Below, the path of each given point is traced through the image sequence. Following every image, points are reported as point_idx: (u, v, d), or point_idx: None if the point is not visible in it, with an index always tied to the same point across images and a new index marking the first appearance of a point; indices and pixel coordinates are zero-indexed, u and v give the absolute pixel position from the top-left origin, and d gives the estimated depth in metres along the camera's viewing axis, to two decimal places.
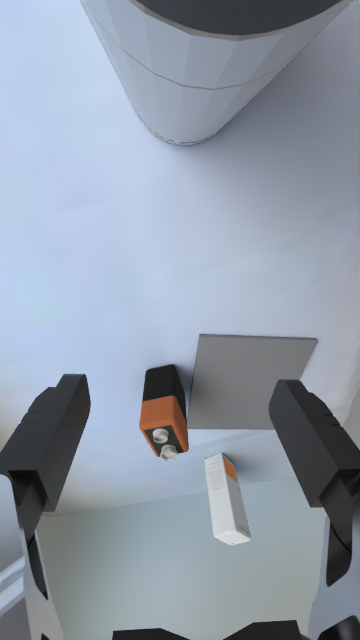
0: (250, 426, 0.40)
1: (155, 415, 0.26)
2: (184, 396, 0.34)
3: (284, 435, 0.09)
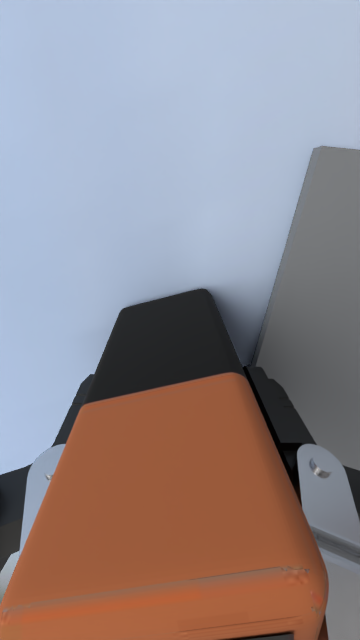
0: None
1: (138, 508, 0.03)
2: None
3: None
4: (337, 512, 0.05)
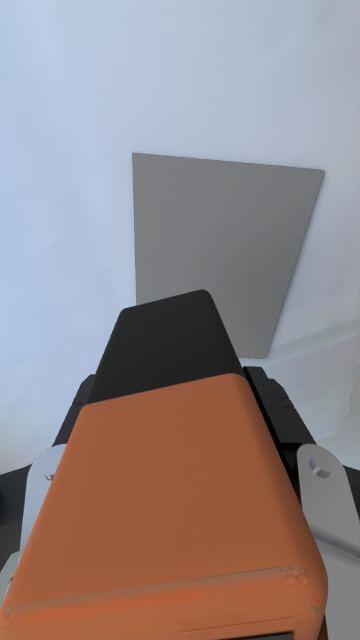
0: None
1: (138, 508, 0.03)
2: None
3: None
4: (337, 512, 0.05)
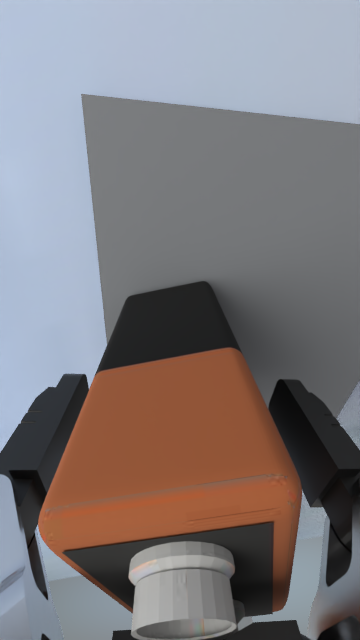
0: None
1: (152, 442, 0.04)
2: None
3: (284, 435, 0.09)
4: None
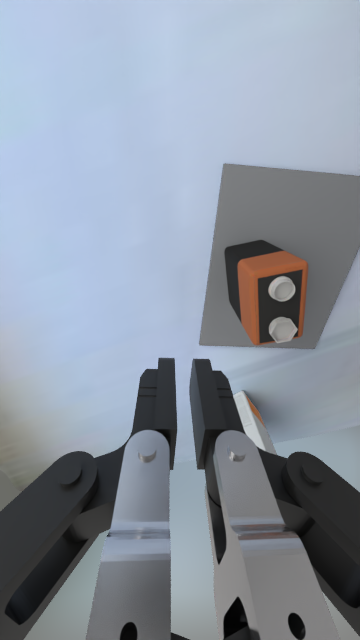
0: (283, 342, 0.30)
1: (271, 262, 0.17)
2: None
3: (192, 409, 0.10)
4: (255, 493, 0.05)
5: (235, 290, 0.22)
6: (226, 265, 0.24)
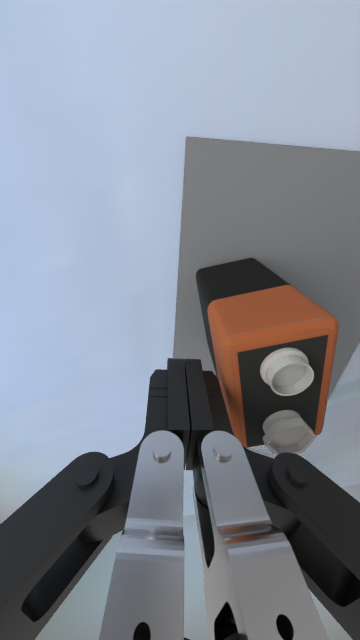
0: None
1: (266, 315, 0.09)
2: None
3: None
4: (241, 493, 0.05)
5: (210, 341, 0.14)
6: (199, 296, 0.16)
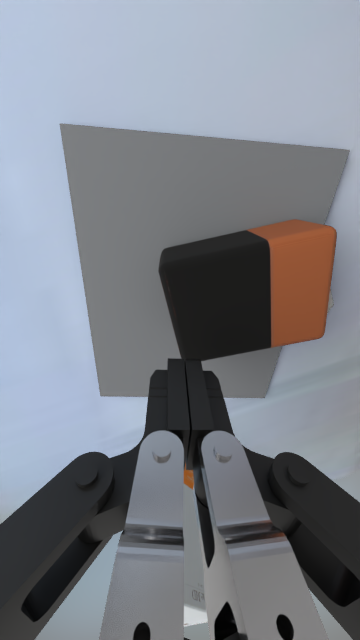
0: None
1: (297, 225, 0.13)
2: None
3: None
4: (242, 493, 0.05)
5: (245, 307, 0.13)
6: (184, 293, 0.12)
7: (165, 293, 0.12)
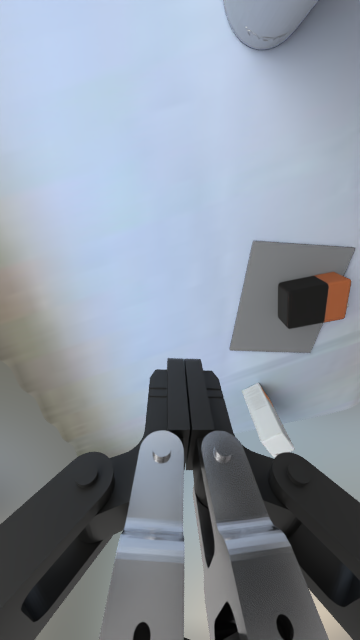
0: (288, 348, 0.44)
1: (336, 276, 0.34)
2: None
3: None
4: (241, 493, 0.05)
5: (316, 306, 0.34)
6: (296, 301, 0.34)
7: (289, 301, 0.34)
